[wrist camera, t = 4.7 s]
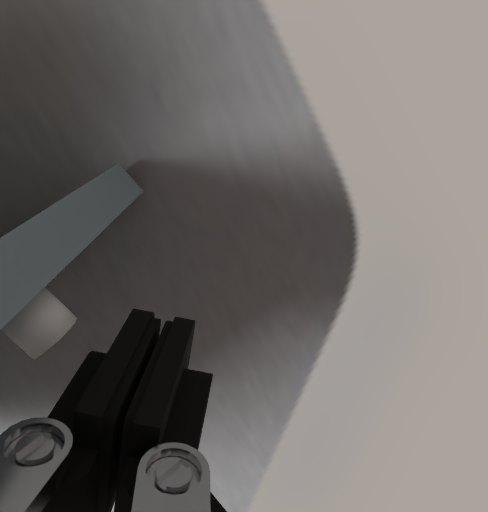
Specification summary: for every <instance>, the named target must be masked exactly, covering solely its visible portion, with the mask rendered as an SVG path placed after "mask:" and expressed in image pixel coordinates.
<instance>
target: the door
mask: <svg viewBox="0 0 488 512" xmlns="http://www.w3.org/2000/svg"><path fill="white" fill-rule="evenodd" d="M143 192H144V191H143V190H142V189H141V188H140V187H139V186H138V184H137V183H136V182H135V181H134V180H133V179H132V178H131V177H130V175H129V174H128V173H127V172H126V171H125V170H124V169H123V168H122V167H121V165H120V164H119V163H117V164H116V165H114V166H113V167H111V168H109V169H108V170H106V171H105V172H103V173H102V174H100V175H98V176H97V177H95V178H94V179H92V180H91V181H89V182H87V183H86V184H84V185H83V186H81V187H79V188H78V189H76V190H75V191H73V192H72V193H70V194H68V195H67V196H65V197H64V198H62V199H61V200H59V201H57V202H56V203H54V204H53V205H51V206H50V207H48V208H46V209H45V210H43V211H42V212H40V213H38V214H37V215H35V216H34V217H32V218H31V219H29V220H27V221H26V222H24V223H23V224H21V225H20V226H18V227H16V228H15V229H13V230H12V231H10V232H9V233H7V234H5V235H4V236H2V237H1V238H0V330H1V331H2V332H3V333H4V334H6V335H7V336H8V337H9V338H10V339H11V340H12V341H13V342H14V343H16V344H17V345H18V346H19V347H20V348H21V349H22V350H23V351H24V352H25V353H27V354H28V355H29V356H30V357H31V358H32V359H33V360H35V359H37V358H39V357H40V356H41V355H43V354H44V353H45V352H46V351H48V350H49V349H50V348H51V347H52V346H53V345H54V344H56V343H57V342H58V341H59V340H60V339H61V338H62V337H63V336H64V335H65V334H66V333H67V332H68V331H69V330H70V328H71V327H72V326H73V325H74V324H75V322H76V321H77V317H76V316H75V315H74V314H73V313H72V312H70V311H69V310H68V309H67V308H66V307H65V306H64V305H63V304H62V303H61V302H60V301H59V300H58V299H57V298H56V297H55V296H54V295H53V294H52V293H51V292H50V291H49V290H48V289H47V288H46V287H45V286H46V285H47V284H48V283H49V282H51V281H52V280H53V279H54V278H55V277H56V276H57V275H58V274H59V273H60V272H61V271H62V270H63V269H64V268H65V267H66V266H67V265H68V264H69V263H70V262H71V261H72V260H73V259H74V258H75V257H76V256H77V255H78V254H79V253H81V252H82V251H83V250H84V249H85V248H86V247H87V246H88V245H89V244H90V243H91V242H92V241H93V240H94V239H95V238H96V237H97V236H98V235H99V234H100V233H101V232H102V231H103V230H104V229H105V228H106V227H107V226H108V225H109V224H111V223H112V222H113V221H114V220H115V219H116V218H117V217H118V216H119V215H120V214H121V213H122V212H123V211H124V210H125V209H126V208H127V207H128V206H129V205H130V204H131V203H132V202H133V201H134V200H135V199H136V198H137V197H138V196H139V195H141V194H142V193H143Z"/></svg>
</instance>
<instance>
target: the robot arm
mask: <svg viewBox="0 0 488 512" xmlns="http://www.w3.org/2000/svg"><path fill="white" fill-rule="evenodd" d="M160 325H161V320H160V319H156V318H154V312H148V311H143V310H138V309H133V310H132V312H131V313H130V315H129V317H128V318H127V320H126V322H125V324H124V325H123V327H122V329H121V331H120V332H119V334H118V336H117V337H116V339H115V341H114V343H113V344H112V346H111V348H110V349H109V351H108V353H107V354H106V353H101V352H96V351H91V352H90V353H89V354H88V355H87V357H86V358H85V360H84V362H83V363H82V365H81V366H80V368H79V369H78V371H77V372H76V374H75V376H74V377H73V379H72V380H71V382H70V383H69V385H68V386H67V388H66V389H65V391H64V393H63V394H62V396H61V397H60V399H59V400H58V402H57V403H56V405H55V407H54V408H53V410H52V411H51V413H50V414H49V416H48V417H47V418H32V419H28V420H24V421H21V422H19V423H17V424H14V425H12V426H11V427H9V428H8V429H7V430H6V431H4V432H3V433H2V434H1V435H0V512H111V510H112V507H113V504H114V502H115V507H114V512H226V510H225V509H224V508H223V507H222V505H221V504H220V503H219V502H218V501H217V499H216V498H215V497H214V496H213V494H212V493H211V492H210V470H209V465H208V462H207V461H206V459H205V457H204V456H203V455H202V454H201V453H200V452H199V451H198V448H199V443H200V438H201V433H202V428H203V423H204V418H205V413H206V408H207V403H208V398H209V392H210V387H211V382H212V376H213V374H211V373H205V372H200V371H195V370H190V369H188V365H189V359H190V353H191V346H192V340H193V334H194V328H195V320H190V319H185V318H180V317H175V318H174V321H173V322H172V321H166V322H165V325H164V327H163V329H162V332H161V334H160V336H159V332H160Z"/></svg>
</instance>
